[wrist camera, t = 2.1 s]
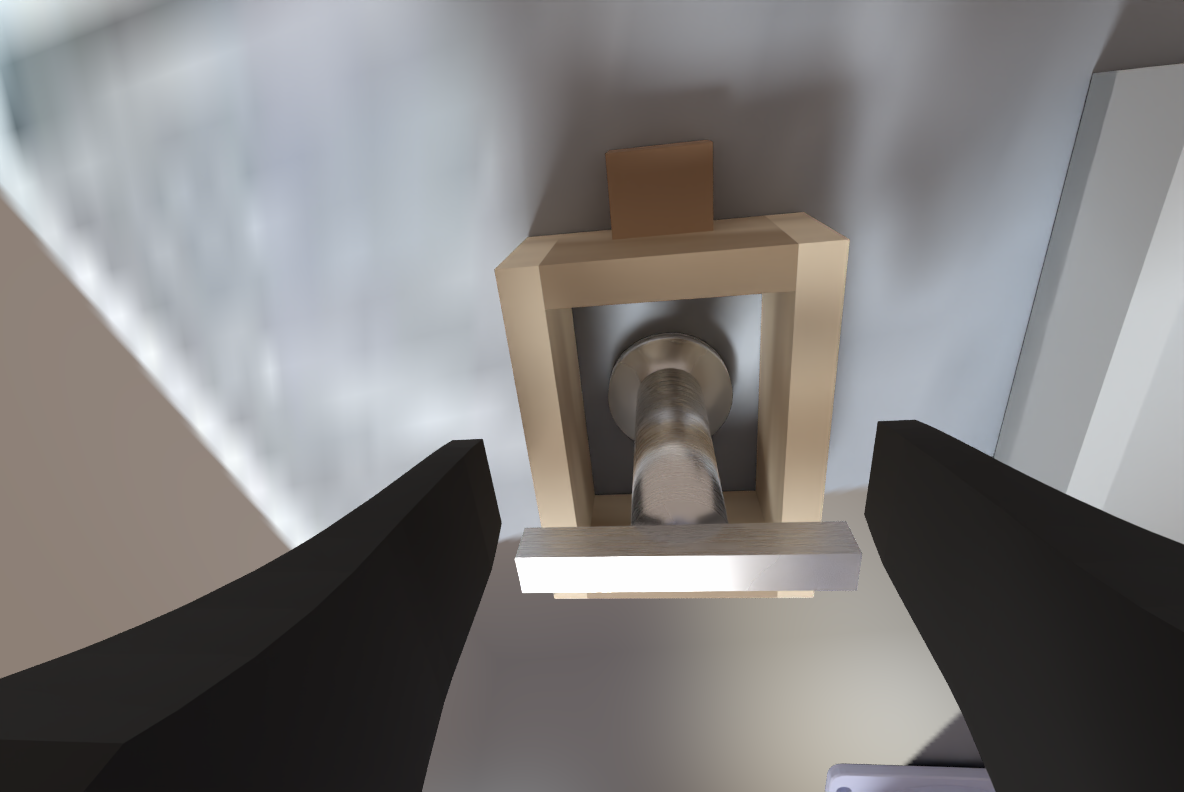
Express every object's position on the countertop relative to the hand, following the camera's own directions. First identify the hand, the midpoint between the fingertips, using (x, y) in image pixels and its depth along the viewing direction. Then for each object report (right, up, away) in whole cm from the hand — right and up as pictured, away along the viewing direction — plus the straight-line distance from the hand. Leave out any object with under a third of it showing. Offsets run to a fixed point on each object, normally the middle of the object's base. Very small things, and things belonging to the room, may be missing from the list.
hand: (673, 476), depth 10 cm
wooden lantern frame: (0, +2, +3) cm, 4 cm away
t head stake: (0, +2, +3) cm, 4 cm away
